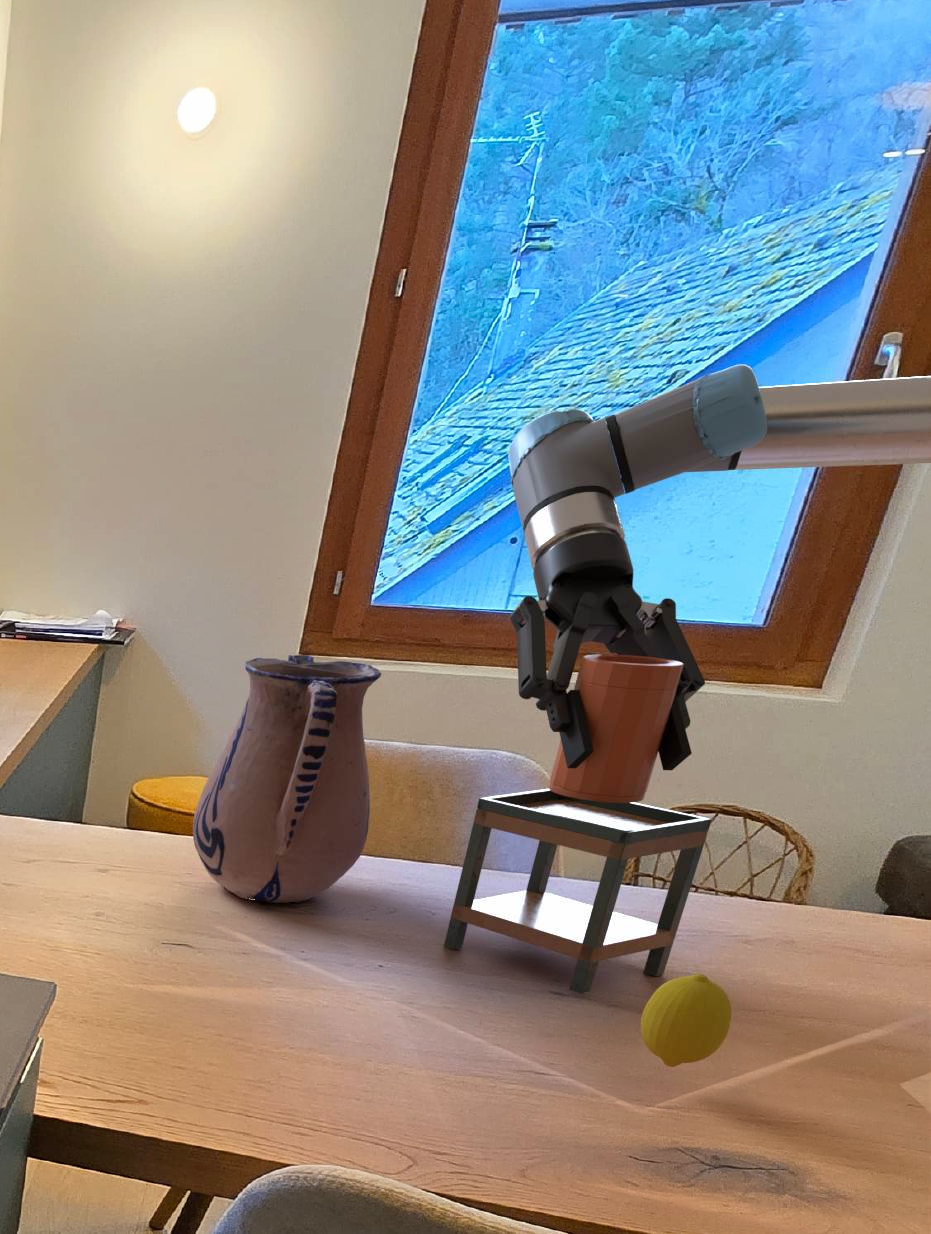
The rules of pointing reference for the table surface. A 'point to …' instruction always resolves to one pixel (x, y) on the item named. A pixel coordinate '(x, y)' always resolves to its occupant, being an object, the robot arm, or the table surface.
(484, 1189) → the table surface
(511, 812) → the rack
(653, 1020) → the lemon
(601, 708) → the flower pot
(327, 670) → the ceramic pitcher
